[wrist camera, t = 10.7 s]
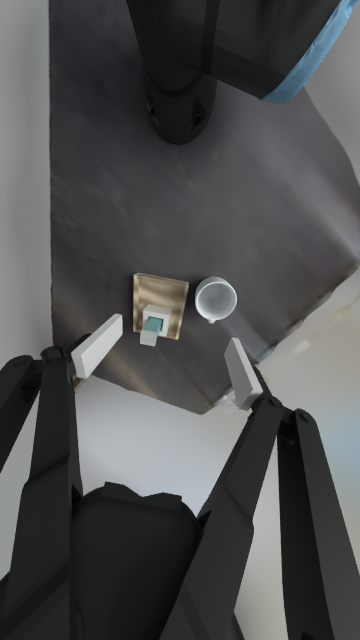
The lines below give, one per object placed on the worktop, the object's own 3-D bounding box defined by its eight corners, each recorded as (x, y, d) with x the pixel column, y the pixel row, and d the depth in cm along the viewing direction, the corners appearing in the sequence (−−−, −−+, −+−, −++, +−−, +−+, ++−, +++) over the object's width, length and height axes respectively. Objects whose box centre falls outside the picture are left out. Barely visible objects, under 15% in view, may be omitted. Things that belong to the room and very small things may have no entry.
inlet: (148, 303, 52) (143, 310, 47) (171, 308, 52) (169, 315, 47) (146, 324, 56) (142, 332, 51) (168, 328, 56) (166, 336, 51)
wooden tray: (138, 272, 48) (133, 274, 44) (189, 282, 48) (188, 285, 44) (136, 326, 58) (133, 331, 55) (178, 334, 58) (177, 339, 55)
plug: (151, 313, 50) (140, 331, 40) (163, 316, 50) (155, 334, 40) (150, 324, 52) (140, 343, 42) (162, 326, 52) (154, 346, 42)
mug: (223, 313, 52) (232, 332, 41) (194, 313, 53) (194, 331, 42) (228, 272, 45) (240, 280, 34) (194, 273, 46) (195, 281, 35)
